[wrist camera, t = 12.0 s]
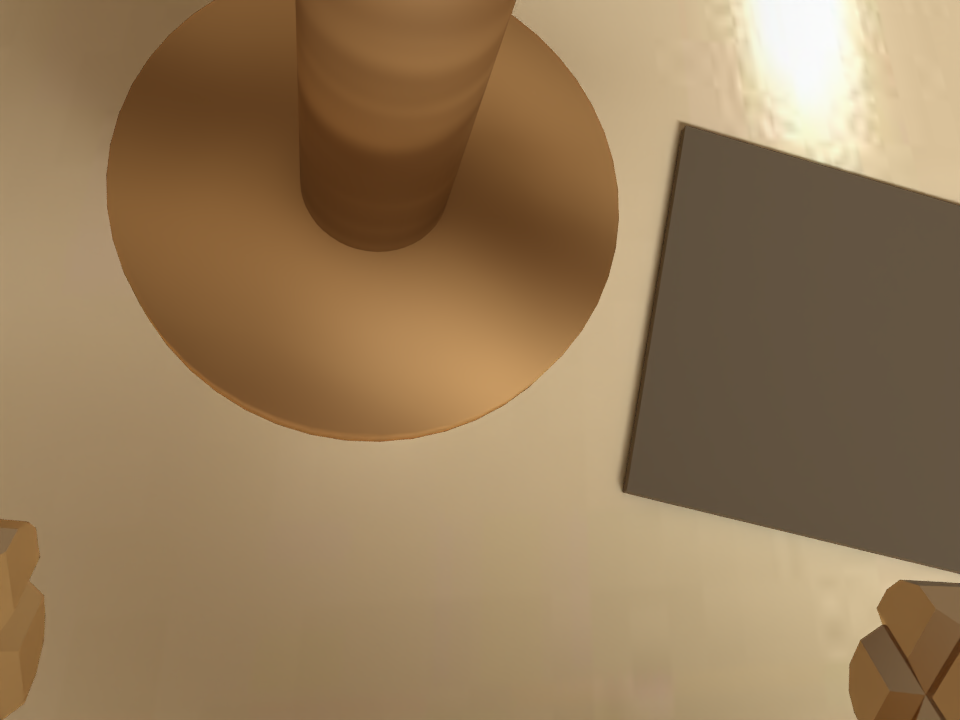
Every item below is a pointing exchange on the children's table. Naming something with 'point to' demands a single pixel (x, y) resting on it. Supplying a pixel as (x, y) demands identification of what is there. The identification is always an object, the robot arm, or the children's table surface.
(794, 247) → the mat
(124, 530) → the children's table surface
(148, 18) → the children's table surface
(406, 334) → the lid
